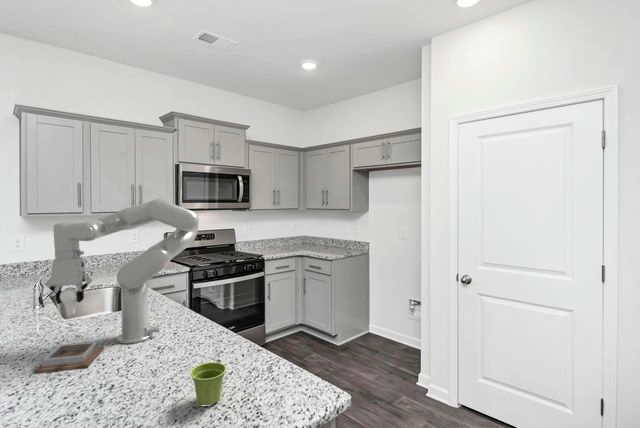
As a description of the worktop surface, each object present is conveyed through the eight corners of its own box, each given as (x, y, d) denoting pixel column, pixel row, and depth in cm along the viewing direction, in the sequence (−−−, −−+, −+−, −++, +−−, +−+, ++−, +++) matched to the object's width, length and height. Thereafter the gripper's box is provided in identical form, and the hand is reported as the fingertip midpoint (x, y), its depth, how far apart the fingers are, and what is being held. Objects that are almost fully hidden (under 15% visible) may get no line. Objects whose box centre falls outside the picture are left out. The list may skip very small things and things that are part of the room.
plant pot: (230, 390, 98) (229, 361, 98) (221, 410, 89) (221, 378, 89) (197, 391, 98) (197, 362, 98) (185, 411, 89) (185, 379, 88)
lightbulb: (78, 312, 132) (76, 284, 132) (83, 315, 129) (81, 287, 128) (59, 316, 128) (57, 288, 127) (63, 320, 124) (61, 290, 123)
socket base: (104, 348, 126) (104, 346, 126) (87, 367, 112) (87, 364, 112) (57, 353, 123) (57, 350, 123) (34, 373, 108) (34, 370, 108)
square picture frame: (98, 348, 125) (97, 341, 124) (84, 363, 113) (83, 356, 113) (60, 351, 121) (60, 345, 121) (42, 367, 110) (42, 360, 110)
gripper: (97, 252, 133) (99, 297, 134) (46, 254, 129) (49, 301, 129) (89, 255, 126) (92, 302, 126) (35, 258, 121) (38, 307, 122)
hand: (70, 301), depth 128 cm, fingers closed on lightbulb, 5 cm apart
